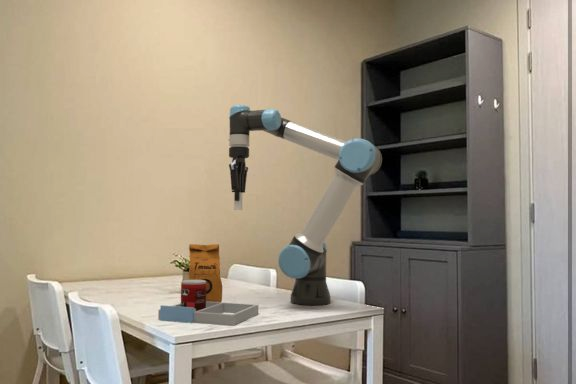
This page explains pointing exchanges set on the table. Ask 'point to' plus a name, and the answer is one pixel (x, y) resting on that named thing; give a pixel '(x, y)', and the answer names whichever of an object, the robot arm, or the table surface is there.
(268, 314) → the table surface
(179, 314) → the grey shallow tray
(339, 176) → the robot arm
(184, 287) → the canned food
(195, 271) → the coffee package
